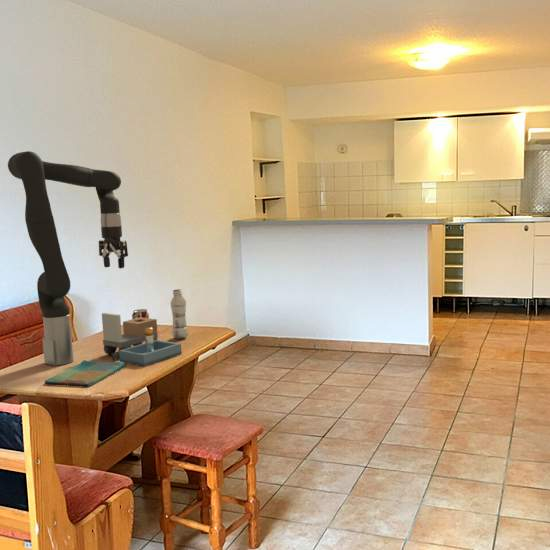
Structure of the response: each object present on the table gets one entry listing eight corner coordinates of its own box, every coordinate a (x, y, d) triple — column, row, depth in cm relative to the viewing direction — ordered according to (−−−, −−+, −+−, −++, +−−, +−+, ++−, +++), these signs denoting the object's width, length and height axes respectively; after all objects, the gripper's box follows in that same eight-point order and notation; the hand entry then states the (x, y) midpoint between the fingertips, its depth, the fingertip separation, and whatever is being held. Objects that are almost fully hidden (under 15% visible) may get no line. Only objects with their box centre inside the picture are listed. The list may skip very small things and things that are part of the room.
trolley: (117, 360, 230) (113, 316, 228) (98, 356, 236) (95, 314, 234) (160, 347, 247) (157, 306, 244) (141, 344, 253) (138, 304, 251)
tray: (144, 366, 221) (143, 355, 220) (119, 361, 228) (118, 350, 228) (181, 354, 235) (180, 343, 234) (157, 350, 243) (156, 339, 242)
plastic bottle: (169, 340, 258) (166, 291, 255) (176, 336, 264) (173, 288, 262) (184, 340, 256) (181, 291, 253) (191, 336, 262) (188, 288, 260)
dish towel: (127, 368, 222) (126, 361, 221) (90, 389, 199) (89, 381, 199) (83, 366, 226) (83, 359, 226) (43, 386, 204) (42, 379, 204)
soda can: (132, 338, 264) (130, 310, 262) (148, 336, 267) (146, 308, 265) (135, 341, 258) (133, 312, 256) (152, 339, 261) (150, 310, 259)
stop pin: (150, 356, 230) (148, 329, 228) (145, 355, 231) (143, 328, 230) (156, 354, 232) (154, 327, 231) (151, 353, 234) (149, 327, 232)
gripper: (91, 225, 243) (94, 268, 245) (115, 226, 234) (118, 269, 236) (107, 224, 249) (110, 265, 251) (131, 224, 240) (134, 267, 242)
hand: (114, 267), depth 244 cm, fingers open, 8 cm apart
